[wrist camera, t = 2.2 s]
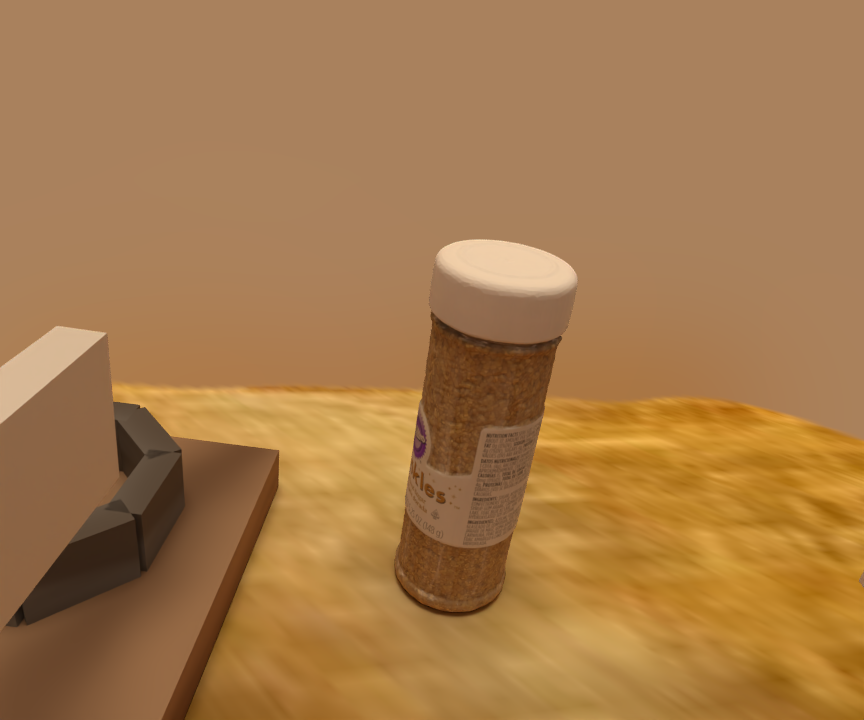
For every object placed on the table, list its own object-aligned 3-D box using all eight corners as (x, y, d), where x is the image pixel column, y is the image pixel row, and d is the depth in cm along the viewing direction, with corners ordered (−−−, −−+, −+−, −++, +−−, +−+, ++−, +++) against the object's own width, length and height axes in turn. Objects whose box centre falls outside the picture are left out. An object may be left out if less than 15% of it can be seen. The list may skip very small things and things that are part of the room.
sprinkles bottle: (376, 548, 28) (411, 236, 21) (470, 524, 30) (527, 232, 24) (424, 634, 24) (483, 290, 18) (527, 600, 26) (611, 280, 20)
